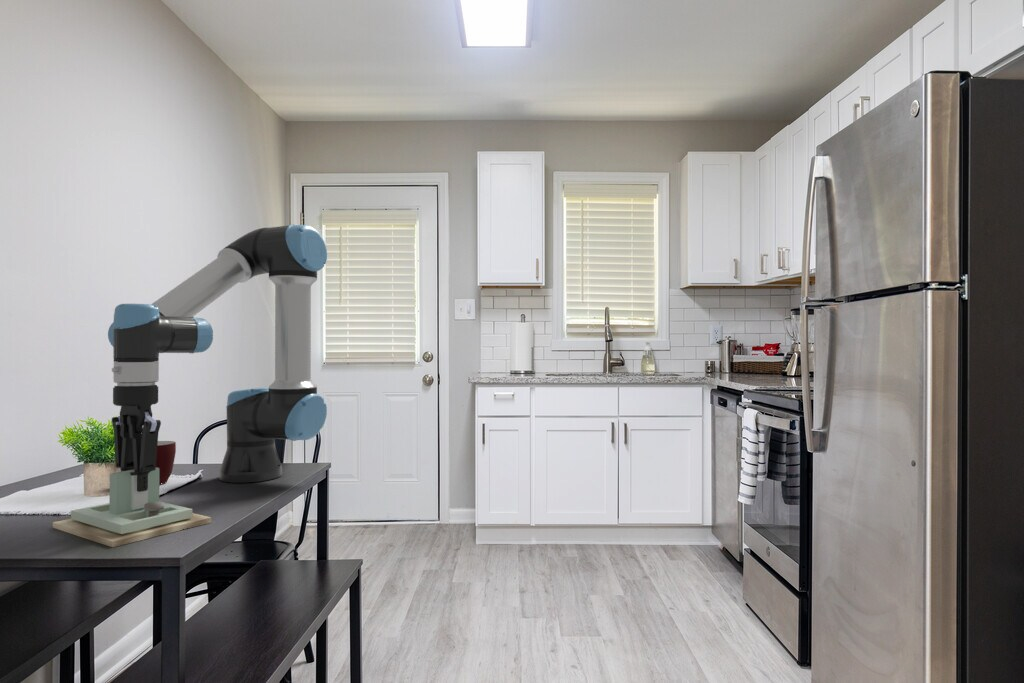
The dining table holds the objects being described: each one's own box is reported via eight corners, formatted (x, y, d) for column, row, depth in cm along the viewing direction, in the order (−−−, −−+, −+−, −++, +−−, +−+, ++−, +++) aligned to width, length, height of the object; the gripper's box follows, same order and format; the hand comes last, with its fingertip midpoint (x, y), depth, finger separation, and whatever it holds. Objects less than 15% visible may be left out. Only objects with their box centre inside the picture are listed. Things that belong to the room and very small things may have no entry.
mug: (173, 487, 154) (173, 446, 154) (134, 490, 151) (135, 448, 151) (176, 478, 164) (177, 440, 164) (140, 481, 161) (141, 442, 161)
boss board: (149, 507, 135) (149, 485, 135) (211, 522, 124) (211, 498, 124) (52, 527, 120) (52, 503, 120) (112, 547, 108) (112, 520, 108)
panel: (141, 504, 132) (141, 461, 132) (192, 517, 122) (192, 470, 122) (70, 518, 121) (71, 471, 121) (121, 534, 111) (121, 482, 111)
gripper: (94, 383, 123) (93, 505, 123) (137, 386, 115) (136, 517, 115) (134, 382, 130) (133, 497, 129) (178, 384, 121) (177, 508, 121)
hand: (135, 506), depth 122 cm, fingers closed on panel, 2 cm apart
